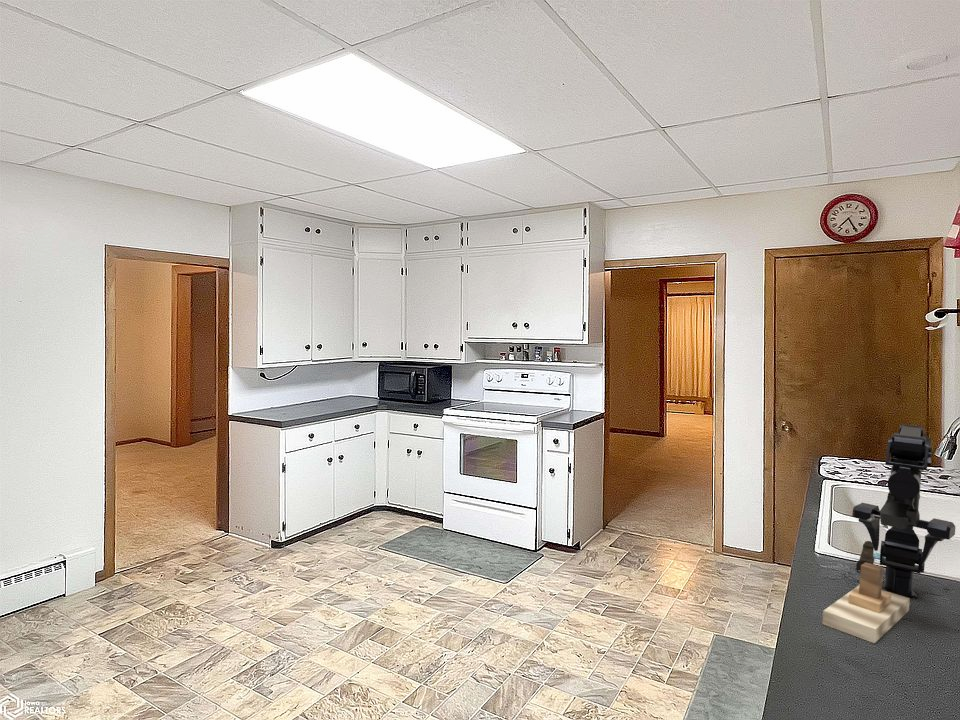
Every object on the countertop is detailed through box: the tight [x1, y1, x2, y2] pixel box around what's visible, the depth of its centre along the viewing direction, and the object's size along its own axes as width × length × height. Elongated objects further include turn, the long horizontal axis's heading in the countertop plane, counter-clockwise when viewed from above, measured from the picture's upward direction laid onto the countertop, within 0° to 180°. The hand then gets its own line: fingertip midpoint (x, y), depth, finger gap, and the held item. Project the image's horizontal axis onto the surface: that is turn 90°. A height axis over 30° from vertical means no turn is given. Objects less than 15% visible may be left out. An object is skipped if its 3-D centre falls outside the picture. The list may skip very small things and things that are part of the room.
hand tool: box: [855, 540, 875, 571], centre depth 169 cm, size 19×4×5 cm, turn 142°
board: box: [821, 584, 911, 644], centre depth 137 cm, size 24×10×3 cm, turn 131°
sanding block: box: [848, 562, 891, 613], centre depth 137 cm, size 8×6×8 cm
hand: (899, 556), depth 140 cm, fingers open, 9 cm apart
